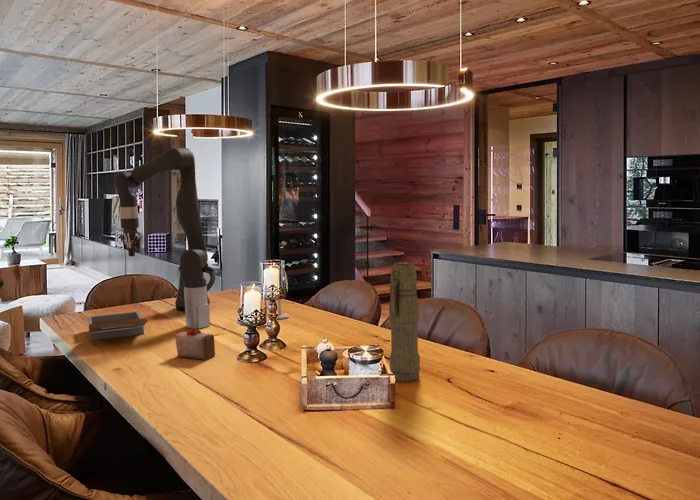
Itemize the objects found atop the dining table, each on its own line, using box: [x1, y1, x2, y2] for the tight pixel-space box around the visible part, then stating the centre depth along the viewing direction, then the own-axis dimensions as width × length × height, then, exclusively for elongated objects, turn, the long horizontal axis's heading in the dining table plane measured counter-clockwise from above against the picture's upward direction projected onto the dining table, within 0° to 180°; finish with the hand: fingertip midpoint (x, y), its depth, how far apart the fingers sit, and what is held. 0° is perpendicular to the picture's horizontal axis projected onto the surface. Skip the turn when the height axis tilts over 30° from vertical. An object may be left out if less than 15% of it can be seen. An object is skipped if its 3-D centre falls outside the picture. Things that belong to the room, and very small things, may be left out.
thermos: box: [388, 261, 421, 383], centre depth 173 cm, size 9×12×35 cm
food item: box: [174, 328, 216, 361], centre depth 202 cm, size 14×8×10 cm, turn 64°
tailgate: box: [88, 317, 148, 333], centre depth 225 cm, size 2×20×16 cm
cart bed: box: [87, 310, 145, 341], centre depth 240 cm, size 18×20×6 cm
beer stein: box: [174, 262, 216, 313], centre depth 283 cm, size 16×19×25 cm
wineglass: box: [276, 272, 291, 320], centre depth 259 cm, size 9×9×21 cm
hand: (131, 256), depth 258 cm, fingers closed
